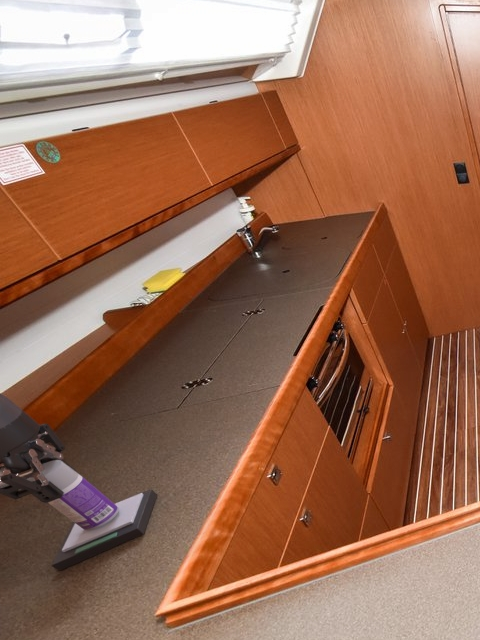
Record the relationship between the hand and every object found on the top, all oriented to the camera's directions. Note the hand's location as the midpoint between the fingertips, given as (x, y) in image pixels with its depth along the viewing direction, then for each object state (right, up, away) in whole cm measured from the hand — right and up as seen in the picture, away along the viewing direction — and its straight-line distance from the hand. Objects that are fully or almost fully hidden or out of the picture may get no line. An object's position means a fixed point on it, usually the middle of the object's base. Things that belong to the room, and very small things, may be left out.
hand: (61, 487), depth 74 cm
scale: (+1, -12, +7) cm, 14 cm away
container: (0, -9, +5) cm, 11 cm away
